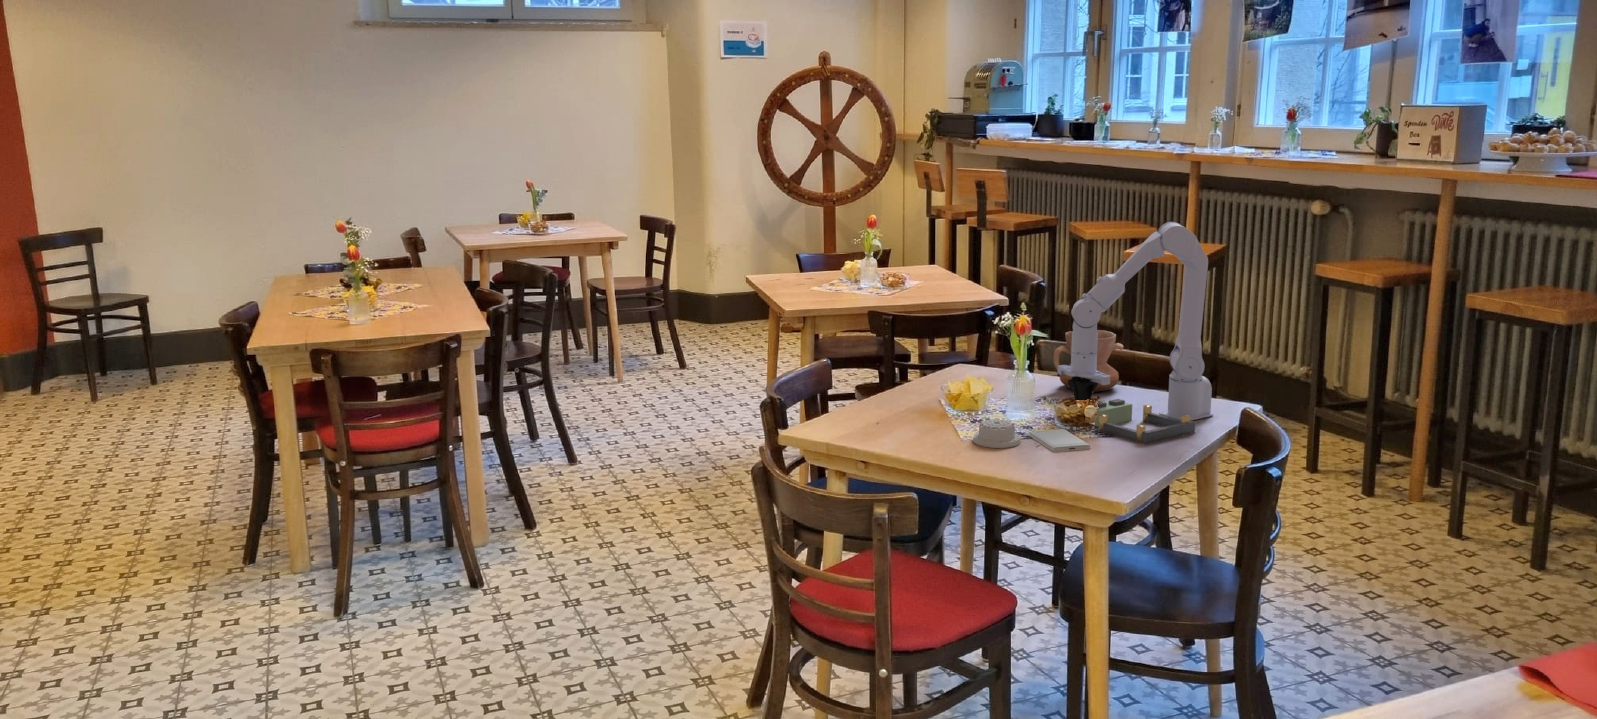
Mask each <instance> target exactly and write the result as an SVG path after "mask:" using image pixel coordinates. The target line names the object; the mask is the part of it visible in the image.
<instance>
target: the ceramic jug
mask: <svg viewBox="0 0 1597 719" xmlns="http://www.w3.org/2000/svg"><path fill="white" fill-rule="evenodd" d="M1072 332H1073V330H1072V331H1071V330H1070V331H1067V332H1065V336H1064V337H1065V342H1066V346H1065V345H1060V346H1058V347H1057V348H1056V349H1055V350H1054V353H1053V356H1052V359H1053V365H1054V367H1055V369H1056V371H1057V372H1058V366H1060V365H1061V363H1060V357H1061V354H1062V353H1064V352H1065V353H1067V354H1068V355H1069V356H1071V352H1072V351H1071V349H1072ZM1097 333H1098V340H1097V368H1096V370H1097V371H1099V372H1101V373H1103V374H1106V375H1109V376H1110V384H1108V385H1101V383H1099V384H1098V385H1097V387H1096V388H1095V390H1094V392H1093V393H1097V392H1104V391H1107V390H1110V389H1113V388H1114V387H1115V386H1116V385H1117V384H1118V383H1119V378H1120V376H1119V371H1117V370H1116V369H1115V368H1114V367H1113V366H1111V365H1109V364H1108V359H1109V358H1110V356H1111V354H1112V352H1113V351H1114V350H1117V349H1118V350H1123V349H1124V345H1123V344H1122V343H1119V342H1117V343H1116V339H1117V334H1116V333H1114V332H1112V331H1107V330H1104V329H1103V330H1102V329H1101V330H1100V329H1097ZM1067 366H1071V363H1069V364H1068V365H1067ZM1058 375H1059V381H1060V382H1061V383H1062V384H1063V385H1064V386H1066V387H1068V388H1070V386H1069V384H1068V380H1070V379H1071V378H1072V376H1068V375H1064V374H1058Z"/></svg>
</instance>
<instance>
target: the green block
mask: <svg viewBox="0 0 1597 719" xmlns="http://www.w3.org/2000/svg"><path fill="white" fill-rule="evenodd" d="M1097 402H1098V403H1097V404H1098V407H1099V408H1098V409H1096V410H1097V413H1098V417H1097V418H1096V420H1095V425H1094V427H1095V426H1096V427H1098V428H1099V415H1101V414H1105V415H1108V420H1107V422H1108V423H1112V424H1115V425H1118V424H1121V423H1125V422H1130V421H1132V418H1133V417H1132V416H1133V403H1130V402H1126V400H1124V399H1121V398H1115V399H1110V400H1107V401H1100V400H1099V401H1097Z"/></svg>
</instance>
